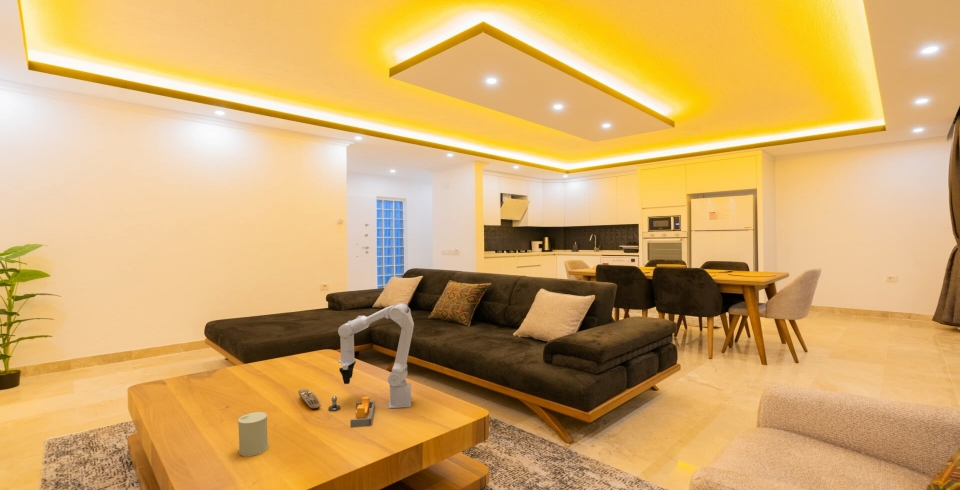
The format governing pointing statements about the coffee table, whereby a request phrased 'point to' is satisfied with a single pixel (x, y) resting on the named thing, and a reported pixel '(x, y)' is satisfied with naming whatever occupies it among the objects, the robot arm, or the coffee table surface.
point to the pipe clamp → (363, 409)
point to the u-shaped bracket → (367, 420)
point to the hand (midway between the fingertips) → (348, 380)
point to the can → (253, 434)
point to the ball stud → (334, 405)
